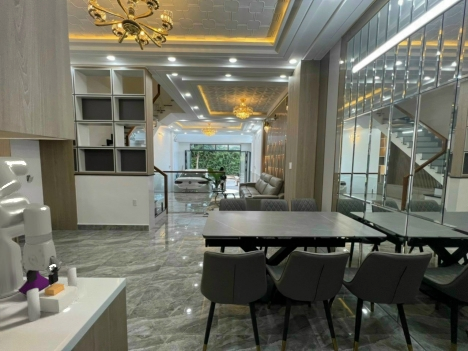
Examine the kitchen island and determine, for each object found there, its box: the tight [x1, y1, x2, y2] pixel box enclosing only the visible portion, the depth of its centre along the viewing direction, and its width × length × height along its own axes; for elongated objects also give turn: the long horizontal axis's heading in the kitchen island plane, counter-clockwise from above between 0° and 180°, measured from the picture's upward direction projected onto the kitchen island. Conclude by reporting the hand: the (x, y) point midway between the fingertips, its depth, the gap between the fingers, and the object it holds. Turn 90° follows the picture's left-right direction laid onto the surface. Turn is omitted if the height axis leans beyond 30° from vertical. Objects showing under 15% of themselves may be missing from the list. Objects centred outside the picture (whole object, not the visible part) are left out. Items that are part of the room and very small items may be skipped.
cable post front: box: [26, 288, 42, 322], centre depth 75 cm, size 3×3×10 cm
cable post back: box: [66, 266, 78, 287], centre depth 90 cm, size 3×3×10 cm
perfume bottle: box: [18, 271, 50, 297], centre depth 90 cm, size 8×8×18 cm
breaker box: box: [39, 285, 79, 314], centre depth 83 cm, size 12×8×5 cm, turn 81°
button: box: [45, 282, 65, 296], centre depth 83 cm, size 4×4×4 cm
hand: (42, 282), depth 83 cm, fingers open, 9 cm apart
